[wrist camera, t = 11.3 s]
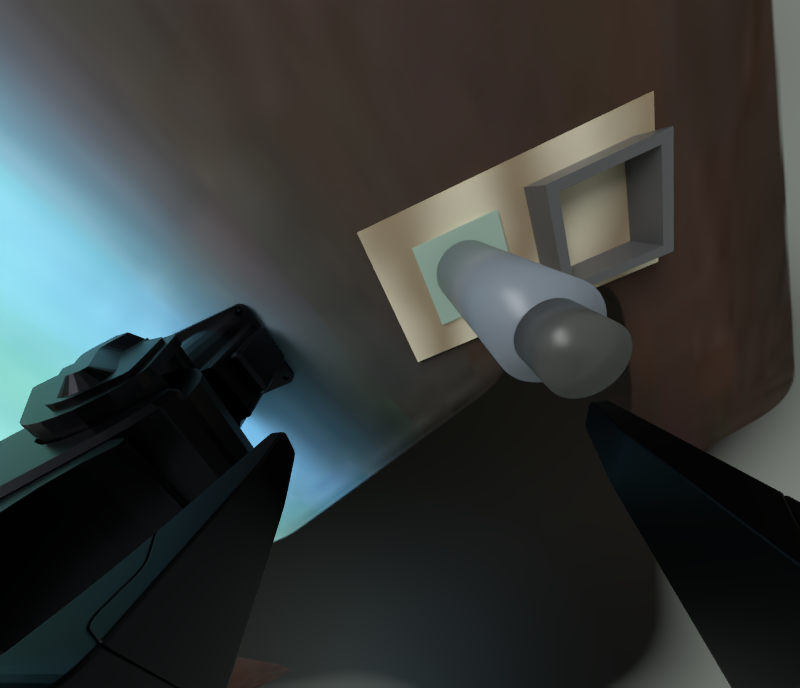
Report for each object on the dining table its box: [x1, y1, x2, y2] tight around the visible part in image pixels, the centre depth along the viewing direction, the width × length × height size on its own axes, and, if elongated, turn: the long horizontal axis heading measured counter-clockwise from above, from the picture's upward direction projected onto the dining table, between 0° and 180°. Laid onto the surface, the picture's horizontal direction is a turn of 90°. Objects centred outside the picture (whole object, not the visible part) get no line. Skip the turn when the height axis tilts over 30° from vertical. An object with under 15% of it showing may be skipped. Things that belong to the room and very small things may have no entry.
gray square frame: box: [524, 126, 674, 285], centre depth 18 cm, size 7×7×2 cm
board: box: [357, 91, 658, 362], centre depth 19 cm, size 18×10×1 cm, turn 114°
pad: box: [412, 210, 508, 325], centre depth 19 cm, size 6×6×1 cm
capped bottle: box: [437, 240, 632, 399], centre depth 14 cm, size 4×4×12 cm
